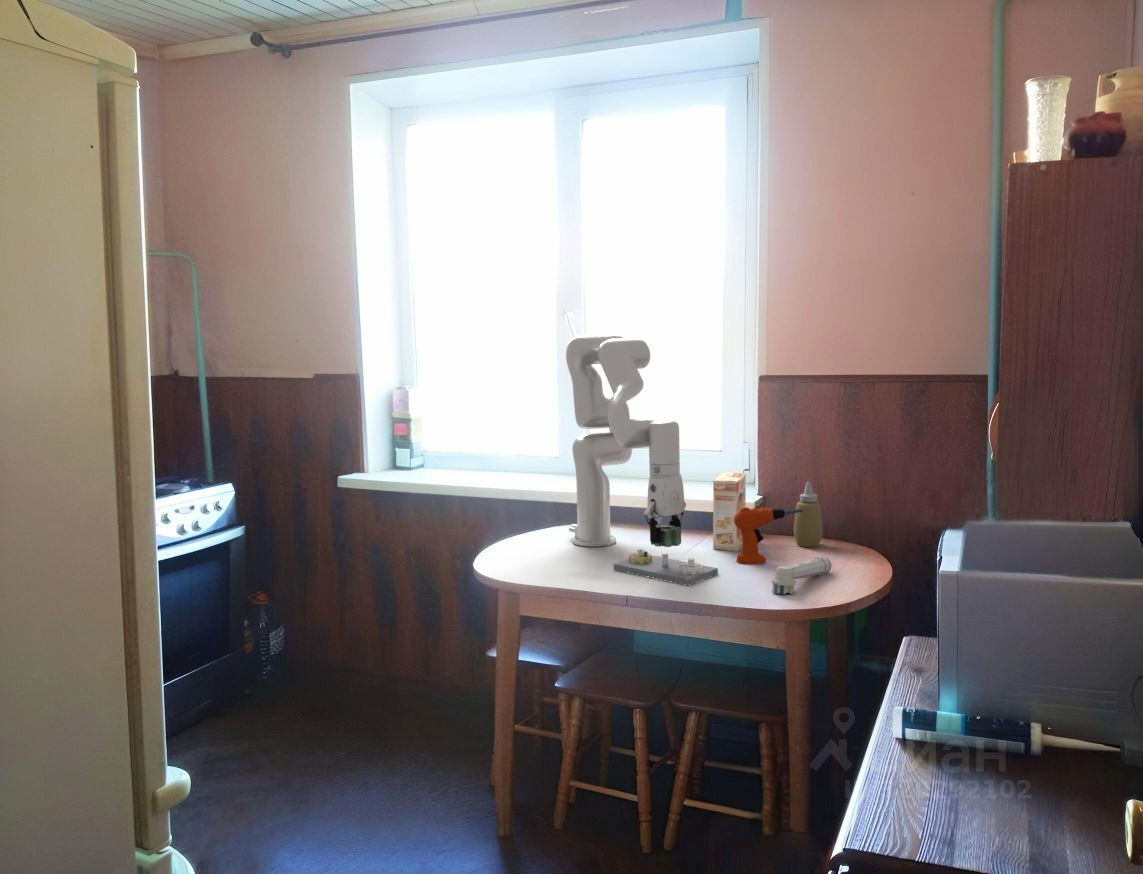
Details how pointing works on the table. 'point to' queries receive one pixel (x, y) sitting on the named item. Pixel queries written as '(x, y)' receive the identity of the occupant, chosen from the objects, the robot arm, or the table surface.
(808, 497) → the squeeze bottle
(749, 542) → the toy drill
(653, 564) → the gear board
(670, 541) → the idler gear
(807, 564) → the toothbrush head
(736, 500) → the coffeecake box
